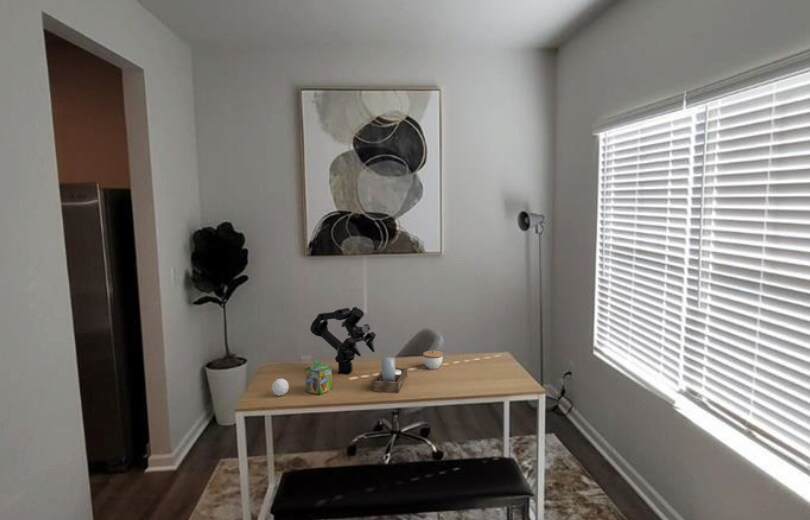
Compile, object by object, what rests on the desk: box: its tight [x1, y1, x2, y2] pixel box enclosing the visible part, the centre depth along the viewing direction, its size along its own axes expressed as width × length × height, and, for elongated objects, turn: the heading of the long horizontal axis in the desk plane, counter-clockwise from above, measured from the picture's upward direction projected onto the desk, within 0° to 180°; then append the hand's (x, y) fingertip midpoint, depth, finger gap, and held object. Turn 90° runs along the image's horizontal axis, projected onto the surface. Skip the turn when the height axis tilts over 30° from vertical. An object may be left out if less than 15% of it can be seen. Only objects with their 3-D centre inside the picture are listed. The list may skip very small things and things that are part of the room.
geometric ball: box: [271, 378, 290, 397], centre depth 222 cm, size 8×8×8 cm
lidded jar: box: [422, 349, 444, 370], centre depth 258 cm, size 11×11×9 cm
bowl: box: [395, 369, 401, 375], centre depth 240 cm, size 8×8×3 cm
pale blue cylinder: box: [381, 356, 396, 382], centre depth 229 cm, size 6×6×13 cm
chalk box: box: [305, 358, 333, 396], centre depth 226 cm, size 9×9×15 cm
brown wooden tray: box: [373, 366, 408, 394], centre depth 234 cm, size 12×22×5 cm, turn 169°
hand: (367, 353), depth 239 cm, fingers open, 9 cm apart
